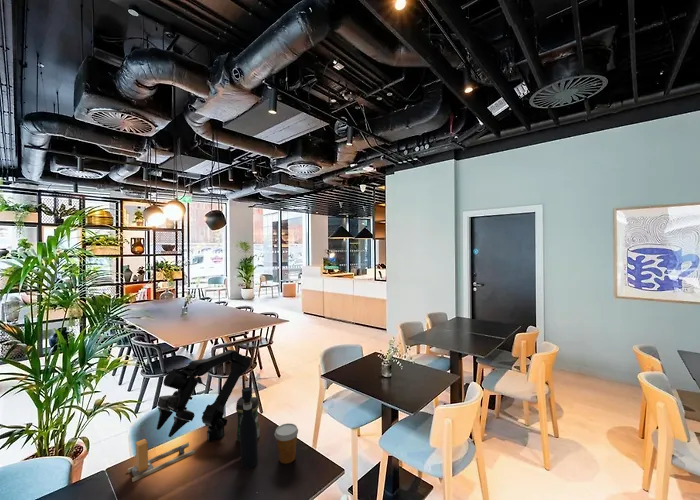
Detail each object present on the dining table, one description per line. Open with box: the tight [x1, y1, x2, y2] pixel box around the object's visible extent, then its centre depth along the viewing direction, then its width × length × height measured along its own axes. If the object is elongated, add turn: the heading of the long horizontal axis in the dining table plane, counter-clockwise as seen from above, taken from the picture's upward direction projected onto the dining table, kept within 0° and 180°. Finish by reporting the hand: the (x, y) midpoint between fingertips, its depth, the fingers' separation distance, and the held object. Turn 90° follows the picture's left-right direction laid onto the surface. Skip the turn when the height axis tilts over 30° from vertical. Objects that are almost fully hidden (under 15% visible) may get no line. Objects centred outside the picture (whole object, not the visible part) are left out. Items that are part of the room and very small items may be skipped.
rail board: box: [127, 441, 196, 482], centre depth 126 cm, size 22×8×2 cm, turn 136°
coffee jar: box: [235, 396, 260, 443], centre depth 142 cm, size 10×8×19 cm
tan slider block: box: [131, 438, 154, 477], centre depth 121 cm, size 6×6×11 cm
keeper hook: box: [176, 444, 185, 456], centre depth 131 cm, size 2×2×3 cm
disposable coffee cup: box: [274, 422, 299, 464], centre depth 127 cm, size 10×10×12 cm
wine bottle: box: [239, 386, 259, 470], centre depth 125 cm, size 6×6×30 cm
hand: (163, 433), depth 122 cm, fingers open, 9 cm apart
